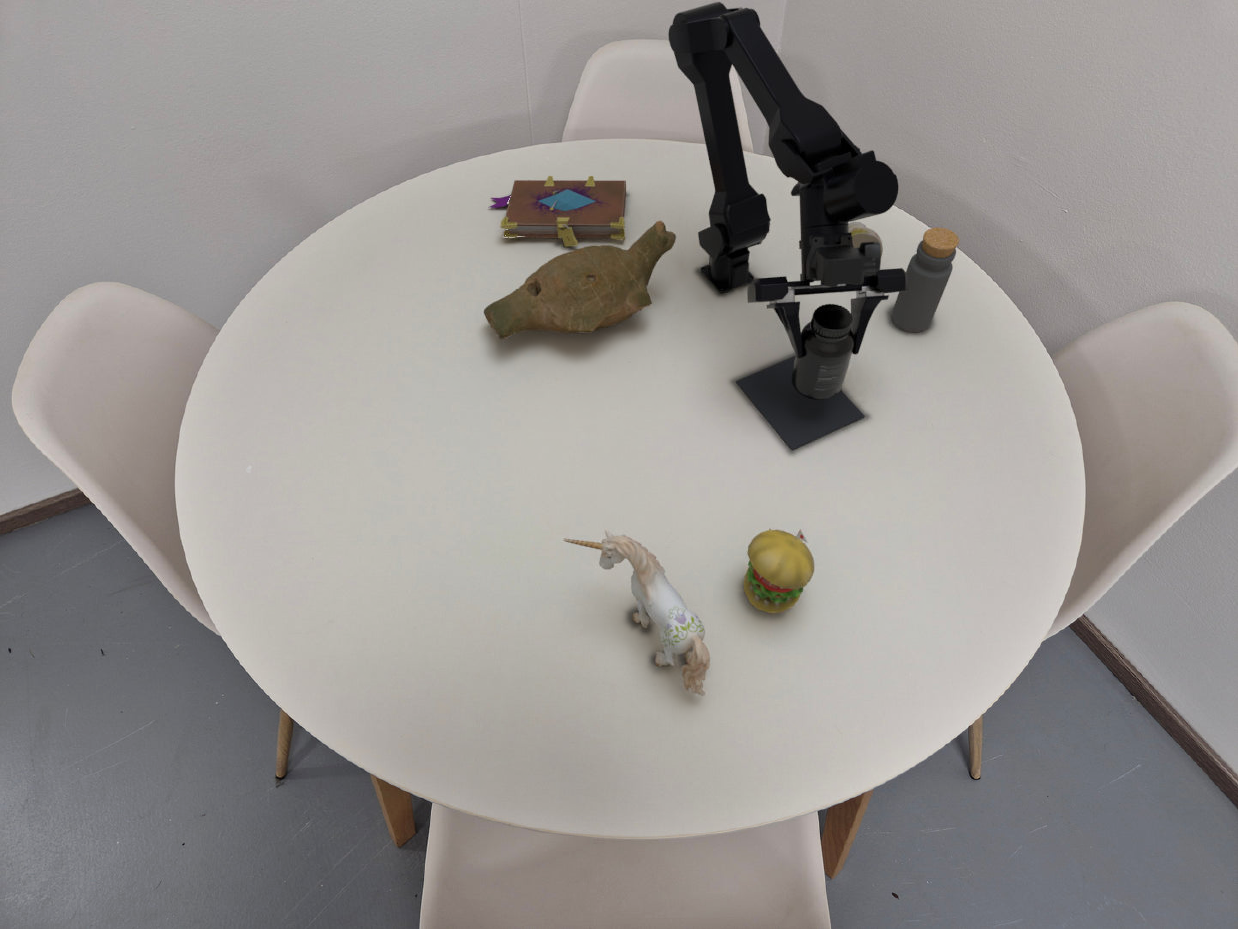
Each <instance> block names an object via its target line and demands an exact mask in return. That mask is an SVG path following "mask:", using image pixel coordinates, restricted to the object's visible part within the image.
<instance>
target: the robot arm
mask: <svg viewBox="0 0 1238 929" xmlns="http://www.w3.org/2000/svg"><path fill="white" fill-rule="evenodd" d="M759 16H760V15H759V14H758V12H757V10H755V9H754V8H749V7H744V8H743V7H731V8H727V7H726V5H725V4H724V3H722V2H721V1H715V2H711V3H708V4H705V5H701V6H697V7H694V8H690V9H687V10H684V11H680V12H677V13H676V14H675V15H674V17H673V19H672V24H671V25H670V26H669V28H668V34H667V35H668V42H669V46H670V48H671V50H672V52H673V55H674V58H675V62H676V65H677V68H678V69H679V70H680V71H681V72H682V73H683V75H684V76H685V77H686V78H687V79H688V81H690V83H691V84H692V85H693V88H694V94H695V99H696V103H697V107H698V112H699V118H700V123H701V129H702V132H703V138H704V141H705V146H706V152H707V157H708V158H707V159H708V162H709V166H710V167H709V168H710V171H711V172H710V173H711V177H712V181H713V187H714V194H713V197H712V200H711V203H710V206H709V210H708V220H709V226H708V227H706V228H703V229H702V230H700V231H698V232H697V236H698V244H699V246H700V247H701V248H702V250H703V251H704V252H705V253H706V254H707V255H708V264H706V265H704V266H702V267H700V270H699V271H700V273H701V274H702V275H703V276H704V278H705V279H706V280H707V281H708V282H709V283H710V285H712V287H713V288H714V289H715V290H716V291H717V292H718V293H719V294H724V293H726V292H729V291H732V290H735V289H737V288H740V287H742V286H744V285H747V284H748V285H747V288H746V294H747V296H746V297H747V298H746V299H747V304H753V303H754V304H755V303H769V304H766V309H767V310H768V309H769V310H771V309H773V310H774V313H775V314H776V316H777V317H778V319H779V321H780V322H781V324H782V326H783V328H784V331H785V332H786V335H787V337H788V339H789V342H790V344H791V346H792V349H793V351H794V354H795V356H797V358H802V337H801V331H802V329H801V323H800V310H801V309H800V308H801V301H796V296H808V295H822V294H824V295H825V294H836V293H837V294H838V293H849V292H850V293H851V292H855V296H856V297H855V298H854V297H853V298H850V313H851V315H852V319H853V321H852V325H851V330H852V332H853V334H854V338H855V344H854V348H853V352H852V355H859V353H860V350H861V349H860V348H861V346H862V343H863V341H864V337H865V335H866V332H867V328H868V325H869V323H870V320H871V318H872V316H873V314H874V312H875V310H876V309H877V307H878V306H879V304H880V303H881V302H882V301H887V300H889V297H890V294H892V293H899V292H901V291H908V276H907V274H906V271H905V270H904V268H903V267H899V268H883V269H881V263H882V257H881V248H880V243H878V242H877V241H873V242H862V243H861V244H860V247H859V248H854V246H853V243H852V233H849V226H848V225H849V223H851V222H856V221H858V220H863V219H867V218H870V217H875V216H878V215H882V214H884V213H886V212H888V211H889V210H890V209H891V208H892V207H893V206H894V205H895V203H896V201H897V198H898V195H899V180H898V177H897V174H895V172H894V171H893V169H892V168H891V167H890V166H889V165H888V164H886V163H885V162H883V161H880V160H877V158H876V153H875V150H873V149H872V150H868V151H865V152H861V148H860V147H858V146H857V145H856V144H855V143H854V142H853V141H852V140H851V139H850V137H849V136H848V135H847V134H846V132H844V130H843V129H842V128H841V126H840V125H839V124H838V122H837V121H836V120H835V118H834V117H833V116H832V114H830V113H829V111H828V110H827V109H826V108H825V107H824V106H823V105H822V104H820V103H818V102H816V101H813V100H812V99H810V98H808V97H806V96H805V95H804V94H803V92H802V91H801V90H800V88H799V87H798V84H796V82H795V80H794V78H793V76H792V75H791V74H790V72H789V71H788V69H787V67H786V65H785V64H784V63H783V60H782V59H781V57H780V56H779V54H778V53H777V52H776V50H775V48H774V47H773V45H772V43H771V42H770V40H769V38H768V37H767V35H766V33H765V32H764V31H763V28H762V27H761V21H760V17H759ZM732 67H733V68H734V70H735V71H736V73H737V75H738V76H739V78H740V80H741V81H742V83H743V85H744V86H745V88H746V89H747V91H748V93H749V94H750V97H751V98H752V100H753V102H754V103H755V105H757V107H758V108H757V109H759V111H760V113H761V115H762V116H763V117H764V119H765V121H766V123H767V126H768V143H767V144H768V147H769V149H770V152H771V154H772V156H773V158H774V162H775V163H776V166H777V168H778V169H779V171H780V172H781V174H782V175H783V176H785V177H786V178H787V179H790V178H791V179H793V180H795V181H796V182H797V183H795V184H794V186H793V187H792V189H791V191H790V195H791V196H792V197H799V223H800V224H799V225H800V240H799V241H798V247H799V248H798V249H799V250H800V251H801V252H800V259H801V260H800V261H801V264H800V265H801V273H800V274H799V280H793V281H788V278H787V275H784V276H771V277H759V278H755V276H754V275H753V274H752V273H751V272H750V270H749V269H750V268H749V267H750V266H749V265H750V262H749V260H750V254H751V251H750V250H749V248H752V247H755V246H758V245H761V244H762V243H763V241H765V240H766V238H767V235H768V234H769V233H770V227H771V221H772V220H771V217H770V214H769V210H768V202H767V200H768V199H767V198H766V195H765V194H764V193H759V192H758V191H757V190H756V189H755V188H754V187H753V186H752V185H751V184H750V181H749V177H748V171H747V166H746V160H745V154H744V148H743V144H742V138H741V133H740V132H741V131H740V127H739V122H738V116H737V112H736V111H737V110H736V105H735V100H734V94H733V89H732V84H731V78H730V73H731V70H732ZM815 282H820V284H816V285H815V284H813V285H811V283H815ZM887 294H888V295H887Z"/></svg>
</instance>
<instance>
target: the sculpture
mask: <svg viewBox="0 0 1238 929" xmlns="http://www.w3.org/2000/svg"><path fill="white" fill-rule="evenodd" d="M676 240H677V235H676V233H675V232H672V231H670V230H667V226H666V223H665V222H664V221H662V220H657V221H655V223H653V225H652V226H650V227H649V228H648V229H647V230H645V232H644V233H642V235H641V236H640V237H639V238H638V239H637V240H636V241H634V242H633V243H632V245H630V247H629V248H628V249H623V248H621V247H619V246H615V245H608V244H600V245H587V246H583V247H580V248H577V249H574V250H572V251H568V252H564V253H561V254H558V255H556V256H555V257H553V258H551V259H550V260H548V261H547V262H545V263H544V264H543V265H541V266H539V268H537V270H536V271H533V273H531V274H530V275H529V276H528V277H527V278H526V279H525V281H524V283H523V284H522V285H520V286H519V287H518V288H516V289H515V290H514V291H512V292H510V293H509V294H507V295H505V296H504V297H502V298H500V299H497V300H496V301H493V302H492V303H490V304H489V305H487V306H486V307H485V308H484V309H483V315H484V317H485V319H486V321H487V323H488V325H490V327H491V328H492V329H493V331H494V333H495V334H496V335H497V337H498V339H499V338H500V339H501V340H505V339H506V338H510V337H511V336H512V335H514V334H519V333H522V332H523V333H524V332H526V331H527V332H528V331H529V332H530V331H548V332H555V333H564V334H592V333H593V332H594V331H599V330H603V329H607V328H609V327H613V326H614V325H618V324H620V323H623V322H624V321H626V320H628V319H629V318H631V317H632V316H633V315H635V314H636V313H638V311H642V310H643V309H644V308H646V307H649V306H651V305H652V304H653V302H652V299H651V296H650V293H649V291H648V285H649V282H650V280H651V277H652V274H653V271H654V269H655V267H656V265H657V263H658V262H659V261H660V259H661V258H662V256H664V255H665V254H666V253H667V252H669V251H671V250H672V249H673V247H674V244H676Z"/></svg>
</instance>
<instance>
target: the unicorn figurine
mask: <svg viewBox="0 0 1238 929" xmlns="http://www.w3.org/2000/svg"><path fill="white" fill-rule="evenodd" d="M604 533H605V537H606V538H603V539H602V540H601V543H600V542H595V541H588V540H579V539H574V538H573V539H571V538H563V539H562V540H563V542H565V543H568V544H573V545H577V546H581V547H585V548H590V549H595V550H600V551H601V553H600V556H599V560H598V564H599V567H601V568H602V569H603V570H611V569H613V568H615V564H617V565H618V564H621V563H622V562H623V561H624V560H627V561H628V562H629V563H630V565H631V567H632V569H633V571H632V574H631V576H630V587H631V588H630V590H631V594H632V596H633V597H634V598H635V601H636V607H637V610H638V612H634V613H633V615H632V619H633V621H634V623H636V624H639V623H641V626H642V628H644V629H648V626H649V623H650V620H652V621H653V622H654V623H655V624H656V625H657V626H658V627H660V633H659V637H660V642H661V643H662V645H663V651H661V650H658V651H657V652H656V655H655V660H654V663H655V665H656V666H657V667H662V666H668V665H671V666H672V667H675V666H676V664H677V663H676V654H679V655H680V654H683V657H684V660H685V662H686V664H683V665H682V667H681V671H682V678H683V688H684V689H685V691H686V692H689V691H690V689H691V691H692V693H694V694H698V695H699V696H702V697H703V696H705V695H706V691H704V690H703V687H704V683H703V681H705V680H706V677H707V676H706V673H707V671H708V669H709V668H710V661H711V655H710V650H709V648H708V647H707V645H706V644H705V643H704V642H703V641H704V638H705V634H706V632H705V631H706V630H705V626H704V624H703V622H702V620H701V619H700V618H699V616H698V615H697V614H696V613H695V612H694V611H692V610H691V609H689V608H688V607H687V605H686V603H685V601H684V599H683V597H682V596H681V595H680V593H679V592H678V591H677V590H676V588H675V587H674V586H673V585H672V584H671V583H670V582H669V580H668V577H667V576H666V575H665V573H666V570H665V569H664V567H663V566H662V565H661V564H660V561H659V560H658V559H657V556H656V555H655V554H654V553H653V552H651V551H649V549H648V548H647V547H646V546H644V545H642V543H641V542H639V541H637V540H634V539H633V538H632V537H629V536H627V535H625V534H621V535H613V534H612V533H611V532H610V531H609V530H607V529H606V530H605V532H604ZM690 650H691V651H690Z"/></svg>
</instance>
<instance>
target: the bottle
mask: <svg viewBox="0 0 1238 929" xmlns="http://www.w3.org/2000/svg"><path fill="white" fill-rule="evenodd" d="M922 235H923V236H922V240H921V241H920V242H919V243H918V244H917V248H916V253H915V254H913V256H911V258H910V261H909V263H908V266H907V268H906V271H905V272H906V274H907V276H908V291H901V292H898V294H897V297H896V300H895V303H894V306H893V309H892V312H891V320H892V321H891V322H892V323H893V324H894V325H895V327H897V328H898V329H900V330H901V331H904V332H907V333H920V332H924V331H926V330H927V329H928V328H930V326H931V323H932V321H933V319H934V316H935V314H936V312H937V309H938V307H939V304H940V302H941V299H942V297H943V294H944V293H945V289H946V287H947V286H948V285H947V284H948V282H949V281H950V280H949V279H950V277H951V274H952V272H953V268H954V267H953V262H954V260H955V258H956V254H957V247H958V245H960V244H959V243H960V238H959V236H958V235H957V234H956V233H955V232H954V231H952V230H951V229H948V228H946V227H945V228H944V227H932V228H929V229H927V230H926V231H925V232H924V233H923V234H922Z"/></svg>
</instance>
